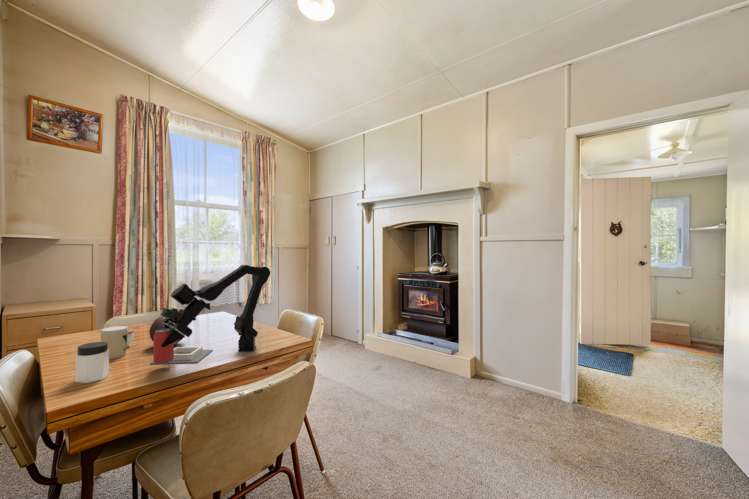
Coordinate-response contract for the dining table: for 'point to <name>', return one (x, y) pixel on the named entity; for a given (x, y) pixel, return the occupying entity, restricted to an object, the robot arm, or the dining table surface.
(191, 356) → the holder plate
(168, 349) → the beer can
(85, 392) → the dining table surface
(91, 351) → the jar
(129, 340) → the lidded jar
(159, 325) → the brown ball
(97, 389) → the dining table surface
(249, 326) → the robot arm
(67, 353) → the dining table surface
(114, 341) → the coffee cup
